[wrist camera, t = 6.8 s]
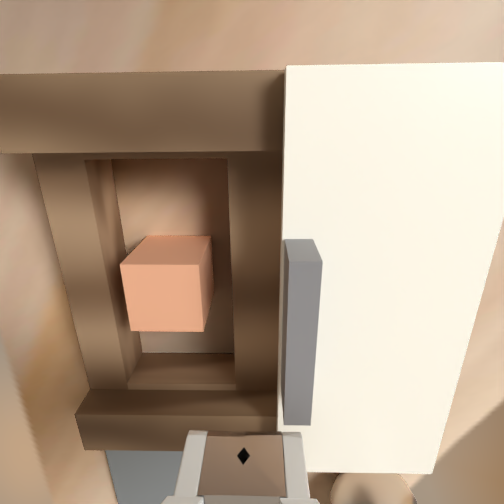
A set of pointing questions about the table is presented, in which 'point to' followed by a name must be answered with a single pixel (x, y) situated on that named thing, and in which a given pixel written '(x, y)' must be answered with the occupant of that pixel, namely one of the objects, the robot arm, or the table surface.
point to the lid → (383, 253)
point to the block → (169, 283)
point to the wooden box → (113, 248)
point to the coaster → (144, 475)
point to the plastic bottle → (371, 489)
